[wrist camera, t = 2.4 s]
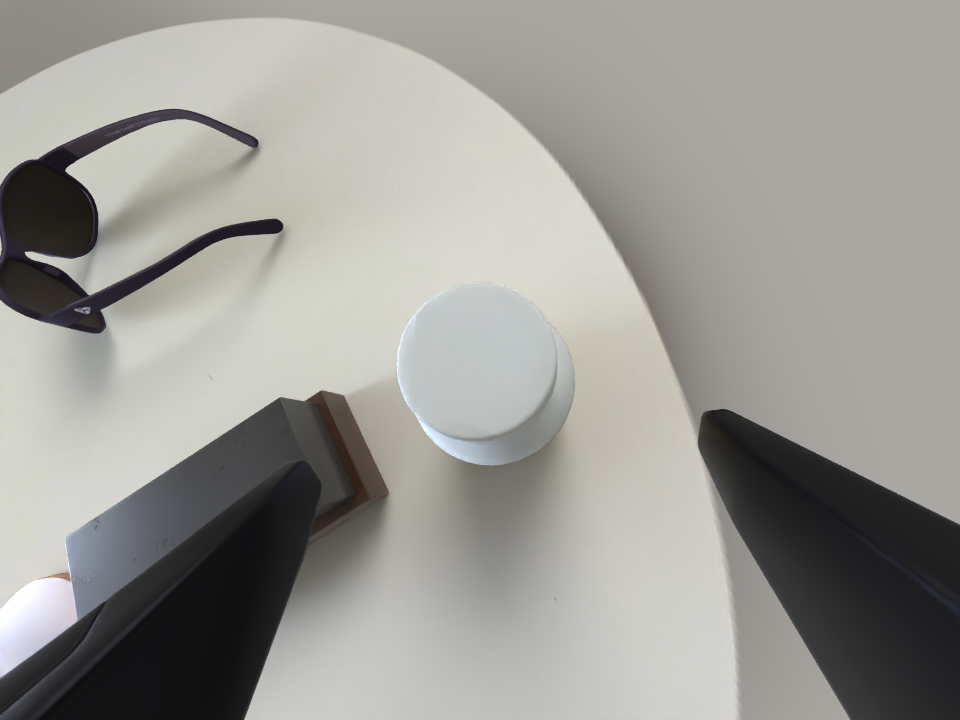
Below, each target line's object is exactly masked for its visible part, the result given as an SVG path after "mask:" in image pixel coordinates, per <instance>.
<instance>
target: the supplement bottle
mask: <svg viewBox="0 0 960 720" xmlns="http://www.w3.org/2000/svg"><path fill="white" fill-rule="evenodd" d="M397 376H398V381H399V385H400V388H401V392H402V394H403V397H404V399H405V401H406V403H407V404H408V406H409V407H410V409H411V410H412V411H413V413H414V414H415V415H416V416H417V418H418V420H419V423H420V424H421V426H422V428H423V429H424V431H425V432H426V434H427V435H428V436H429V437H430V438H431V440H432V441H433V442H435V443H436V444H437V445H438V446H439V447H440V448H441V449H443V450H444V451H446V452H447V453H449V454H450V455H452V456H454V457H456V458H458V459H460V460H463V461H466V462H470V463H474V464H480V465H503V464H508V463H513V462H516V461H519V460H521V459H524V458H526V457H528V456H530V455H532V454H534V453H535V452H537V451H538V450H540V449H541V448H543V447H544V446H545V445H546V444H547V443H548V442H550V441H551V440H552V438H553V437H554V436H555V435H556V434H557V432H558V431H559V430H560V429H561V427H562V425H563V424H564V422H565V420H566V418H567V415H568V413H569V411H570V408H571V405H572V401H573V396H574V388H575V373H574V367H573V362H572V358H571V355H570V352H569V350H568V348H567V346H566V343H565V342H564V340H563V338H562V337H561V335H560V334H559V332H558V331H557V330H556V329H555V328H554V327H553V326H552V325H551V324H550V323H549V322H548V321H547V320H546V318H545V316H544V315H543V313H542V312H541V310H540V309H539V308H538V307H537V306H536V305H535V304H534V303H533V302H532V301H531V300H529V299H528V298H527V297H525V296H524V295H523V294H521V293H520V292H518V291H516V290H514V289H512V288H509V287H507V286H504V285H500V284H495V283H490V282H472V283H465V284H460V285H457V286H453V287H451V288H448V289H446V290H444V291H442V292H440V293H438V294H437V295H435V296H434V297H432V298H431V299H429V300H428V301H427V302H426V303H425V304H423V305H422V306H421V307H420V309H419V310H418V311H417V312H416V313H415V315H414V316H413V317H412V319H411V320H410V321H409V323H408V324H407V326H406V328H405V330H404V332H403V335H402V337H401V341H400V344H399V348H398V354H397Z"/></svg>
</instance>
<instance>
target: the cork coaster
mask: <svg viewBox="0 0 960 720" xmlns="http://www.w3.org/2000/svg"><path fill="white" fill-rule="evenodd" d="M76 622H77V616H76V609H75V603H74V596H73V590H72V583H71V577H70V573H62V574H56V575H52V576H48V577H44V578H41V579H38V580H36V581H34V582H32V583H30V584H28V585H26V586H25V587H23V588H22V589H21V590H19V591H18V592H17V593H16V594H15V595H14V596H13V597H12V598H11V599H10V600H9V601H8V602H7V603H6V604H5V605H4V607H3V608H2V609H1V611H0V678H1V677H2V676H3V675H5V674H6V673H8V672H9V671H10V670H12V669H13V668H14V667H16V666H17V665H19V664H20V663H21V662H23V661H24V660H26V659H27V658H28V657H30V656H31V655H33V654H34V653H35V652H37V651H38V650H39V649H41V648H42V647H43V646H45V645H46V644H47V643H49V642H50V641H52V640H53V639H54V638H56V637H57V636H58V635H60V634H61V633H62V632H64V631H65V630H66V629H68V628H69V627H70V626H72V625H73V624H74V623H76Z"/></svg>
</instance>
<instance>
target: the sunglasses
mask: <svg viewBox="0 0 960 720" xmlns="http://www.w3.org/2000/svg"><path fill="white" fill-rule="evenodd" d="M175 119H187V120H192V121H196V122H199V123H202V124H205V125H207V126H210V127H212V128H214V129H216V130H218V131H220V132H222V133H224V134H226V135H228V136H230V137H232V138H234V139H236V140H238V141H240V142H242V143H244V144H246V145H248V146H250V147H253V148H254V147H257V146H258V140H257V139H256V138H255V137H253V136H251V135H249V134H247V133H244V132H242V131H240V130H237V129H235V128H233V127H231V126H228V125H226V124H224V123H221V122H219V121H217V120H214V119H212V118H210V117H207V116H205V115H202V114H199V113H196V112H192V111H188V110H182V109H165V110H158V111H153V112H149V113H145V114H141V115H137V116H134V117H131V118H127V119H124V120H121V121H118V122H115V123H112V124H109V125H107V126H104V127H102V128H99V129H97V130H94V131H92V132H90V133H87V134H85V135H83V136H81V137H78V138H76V139H74V140H72V141H70V142H67V143H65V144H63V145H61V146H59V147H57V148H55V149H53V150H52V151H50V152H48V153H46V154H45V155H43V156H42V157H40V158H39V159H36V160H28V161H25V162H23V163H21V164H20V165H18V166H17V167H15V168H14V169H13V170H12V171H11V172H10V173H9V174H8V175H7V176H6V177H5V179H4V180H3V182H2V184H1V186H0V237H1V243H2V251H1V256H0V300H1V301H2V302H3V303H5V304H6V305H7V306H9V307H10V308H12V309H13V310H15V311H17V312H19V313H21V314H23V315H25V316H27V317H30V318H33V319H36V320H39V321H42V322H46V323H50V324H54V325H58V326H62V327H66V328H70V329H74V330H79V331H83V332H88V333H101V332H102V331H103V330H104V329H105V327H106V323H105V320H104V317H103V315H102V312H101V311H100V310H101V309H103V308H105V307H107V306H109V305H111V304H113V303H115V302H117V301H118V300H120V299H122V298H124V297H126V296H127V295H129V294H131V293H133V292H134V291H136V290H138V289H140V288H141V287H143V286H145V285H146V284H148V283H150V282H152V281H153V280H155V279H157V278H158V277H160V276H162V275H163V274H165V273H166V272H168V271H170V270H171V269H173V268H174V267H176V266H178V265H179V264H181V263H182V262H184V261H185V260H187V259H188V258H190V257H192V256H193V255H195V254H196V253H198V252H200V251H201V250H203V249H204V248H206V247H208V246H209V245H211V244H213V243H215V242H218V241H221V240H223V239H227V238H231V237H236V236H245V235H260V234H276V233H279V232H281V231H282V229H283V224H282V222H281V221H279V220H278V219H265V220H258V221H251V222H244V223H239V224H234V225H229V226H225V227H222V228H219V229H216V230H213V231H211V232H209V233H206V234H204V235H202V236H200V237H198V238H196V239H194V240H193V241H191V242H189V243H188V244H186V245H185V246H183V247H181V248H180V249H178V250H177V251H175V252H173V253H172V254H170V255H169V256H167V257H165V258H164V259H162V260H160V261H158V262H157V263H155V264H153V265H151V266H149V267H147V268H145V269H143V270H141V271H139V272H137V273H135V274H133V275H131V276H129V277H127V278H125V279H123V280H121V281H119V282H117V283H115V284H113V285H111V286H109V287H107V288H105V289H103V290H101V291H99V292H97V293H94V294H92V295H90V296H89V295H88V294H87V293H86V292H85V291H84V290H83V289H82V288H81V287H80V286H79V285H78V284H77V283H76V282H75V281H74V280H73V279H72V278H70V277H69V276H68V275H67V274H66V273H65V272H64V271H62V270H60V269H59V268H57V267H54V266H52V265H49V264H46V263H42V262H38V261H34V260H32V259H30V258H28V257H27V256H26V255H25V252H35V253H39V254H42V255H46V256H50V257H60V258H69V259H73V258H77V257H81V256H84V255H86V254H87V253H89V252H90V251H91V250H92V249H93V247H94V246H95V243H96V240H97V235H98V211H97V207H96V204H95V201H94V199H93V197H92V195H91V194H90V193H89V191H88V190H87V189H86V188H85V187H84V186H83V185H82V184H81V183H80V182H79V181H77V180H76V179H75V178H73V177H72V176H70V175H69V174H68V173H67V172H66V171H65V170H66V168H67V167H68V166H69V165H71V164H73V163H75V161H77V160H79V159H80V158H82V157H84V156H86V155H88V154H90V153H92V152H94V151H95V150H97V149H99V148H101V147H103V146H105V145H107V144H109V143H111V142H113V141H115V140H117V139H119V138H121V137H123V136H125V135H127V134H129V133H131V132H134V131H136V130H138V129H141V128H143V127H146V126H148V125H151V124H154V123H158V122H162V121H168V120H175ZM84 192H85V193H84ZM87 196H88V197H87ZM88 198H89V199H88ZM89 200H90V201H89Z"/></svg>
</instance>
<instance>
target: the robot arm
mask: <svg viewBox="0 0 960 720" xmlns="http://www.w3.org/2000/svg"><path fill="white" fill-rule="evenodd" d="M698 447H699V450H700V453H701V455H702V457H703V459H704V462H705V464H706V466H707V468H708V470H709V472H710V475H711V477H712V479H713V481H714V483H715V485H716V488H717V490H718V492H719V494H720V496H721V498H722V500H723V502H724V505H725V507H726V509H727V511H728V513H729V515H730V517H731V519H732V521H733V523H734V525H735V527H736V529H737V530H738V532H739V534H740V536H741V537H742V539H743V541H744V542H745V544H746V546H747V547H748V549H749V551H750V552H751V554H752V556H753V557H754V559H755V561H756V562H757V564H758V566H759V567H760V569H761V571H762V572H763V574H764V576H765V577H766V579H767V581H768V582H769V584H770V586H771V587H772V589H773V591H774V593H775V594H776V596H777V598H778V599H779V601H780V603H781V604H782V606H783V608H784V609H785V611H786V613H787V614H788V616H789V618H790V619H791V621H792V623H793V624H794V626H795V628H796V629H797V631H798V633H799V634H800V636H801V638H802V639H803V641H804V643H805V644H806V646H807V648H808V649H809V651H810V653H811V654H812V656H813V658H814V660H815V661H816V663H817V665H818V666H819V668H820V669H821V671H822V673H823V675H824V676H825V678H826V680H827V681H828V683H829V685H830V686H831V688H832V690H833V691H834V693H835V695H836V696H837V698H838V700H839V701H840V703H841V705H842V706H843V708H844V709H845V711H846V713H847V714H848V716H849V718H850V720H960V525H959V524H957V523H955V522H953V521H951V520H949V519H947V518H945V517H943V516H941V515H939V514H937V513H935V512H933V511H931V510H929V509H927V508H925V507H923V506H921V505H919V504H917V503H915V502H913V501H911V500H909V499H907V498H905V497H903V496H901V495H899V494H897V493H895V492H893V491H891V490H889V489H887V488H885V487H883V486H881V485H879V484H876V483H875V482H873V481H871V480H869V479H867V478H865V477H863V476H861V475H859V474H857V473H855V472H853V471H850V470H849V469H847V468H845V467H843V466H841V465H839V464H837V463H834V462H832V461H830V460H828V459H826V458H824V457H822V456H820V455H818V454H816V453H814V452H812V451H810V450H808V449H806V448H804V447H802V446H800V445H798V444H796V443H794V442H792V441H790V440H788V439H786V438H784V437H782V436H780V435H778V434H776V433H774V432H772V431H770V430H768V429H766V428H764V427H762V426H760V425H758V424H756V423H754V422H752V421H750V420H748V419H746V418H744V417H742V416H740V415H738V414H736V413H734V412H732V411H729V410H726V409H720V410H712V411H706V412H704V413H703V415H702V417H701V423H700V429H699V435H698ZM321 492H322V483H321V480H320V478H319V477H318V475H317V474H316V472H315V471H314V469H313V468H312V466H311V465H310V463H309V462H308V461H306V460H303V459H302V460H293V461H289V462H287V463H285V464H284V465H282V466H281V467H280V468H278V469H277V470H276V471H274V472H273V473H272V474H271V475H269V476H268V477H267V478H265V479H264V480H263V481H261V482H260V483H259V484H257V485H256V486H255V487H253V488H252V489H251V490H249V491H248V492H247V493H246V494H244V495H243V496H242V497H240V498H239V499H238V500H236V501H235V502H234V503H232V504H231V505H230V506H228V507H227V508H226V509H224V510H223V511H222V512H221V513H219V514H218V515H217V516H215V517H214V518H213V519H211V520H210V521H209V522H207V523H206V524H205V525H203V526H202V527H201V528H199V529H198V530H197V531H196V532H194V533H193V534H192V535H190V536H189V537H188V538H186V539H185V540H184V541H182V542H181V543H180V544H178V545H177V546H176V547H174V548H173V549H172V550H171V551H169V552H168V553H167V554H165V555H164V556H163V557H161V558H160V559H159V560H157V561H156V562H155V563H153V564H152V565H151V566H149V567H148V568H147V569H146V570H144V571H143V572H142V573H140V574H139V575H138V576H136V577H135V578H134V579H132V580H131V581H130V582H128V583H127V584H126V585H124V586H123V587H122V588H121V589H119V590H118V591H117V592H115V593H114V594H113V595H111V596H110V597H109V598H108V600H107V601H104V602H102V603H101V604H99V605H98V606H97V607H95V608H94V609H93V610H91V611H90V612H89V613H88V614H86V615H85V616H84V617H82V618H81V619H80V620H78V621H77V622H76V623H74V624H73V625H72V626H70V627H69V628H68V629H66V630H65V631H64V632H62V633H61V634H60V635H58V636H57V637H56V638H54V639H53V640H52V641H50V642H49V643H47V644H46V645H45V646H43V647H42V648H41V649H39V650H38V651H37V652H35V653H34V654H33V655H31V656H30V657H28V658H27V659H26V660H24V661H23V662H21V663H20V664H19V665H17V666H16V667H14V668H13V669H12V670H10V671H9V672H8V673H6V674H5V675H3V676H2V677H1V678H0V720H244V719H245V716H246V714H247V711H248V708H249V705H250V703H251V700H252V697H253V694H254V692H255V689H256V686H257V684H258V681H259V678H260V675H261V673H262V670H263V667H264V664H265V662H266V659H267V656H268V654H269V651H270V648H271V645H272V643H273V640H274V637H275V634H276V632H277V629H278V626H279V624H280V621H281V618H282V615H283V613H284V610H285V607H286V604H287V602H288V599H289V596H290V594H291V591H292V588H293V585H294V583H295V580H296V577H297V574H298V572H299V569H300V566H301V563H302V560H303V558H304V555H305V551H306V548H307V544H308V541H309V537H310V533H311V530H312V526H313V522H314V518H315V515H316V511H317V507H318V503H319V500H320V496H321Z"/></svg>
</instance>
